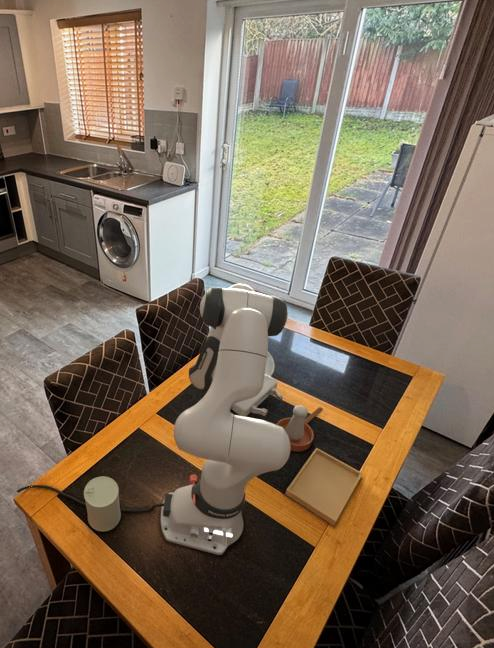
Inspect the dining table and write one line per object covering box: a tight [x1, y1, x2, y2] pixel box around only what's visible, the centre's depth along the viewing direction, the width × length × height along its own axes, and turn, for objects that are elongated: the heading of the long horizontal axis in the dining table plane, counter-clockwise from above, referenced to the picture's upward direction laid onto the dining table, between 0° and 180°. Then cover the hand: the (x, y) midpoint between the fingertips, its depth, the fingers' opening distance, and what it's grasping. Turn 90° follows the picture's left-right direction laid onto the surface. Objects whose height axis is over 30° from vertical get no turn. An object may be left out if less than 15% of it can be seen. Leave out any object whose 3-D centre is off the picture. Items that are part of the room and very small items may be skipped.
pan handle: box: [304, 406, 324, 425], centre depth 138 cm, size 11×1×1 cm, turn 130°
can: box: [83, 475, 122, 532], centre depth 108 cm, size 9×9×12 cm
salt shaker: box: [285, 404, 309, 441], centre depth 130 cm, size 6×6×13 cm
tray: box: [284, 447, 364, 527], centre depth 118 cm, size 20×14×2 cm
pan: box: [275, 417, 315, 453], centre depth 133 cm, size 12×12×3 cm
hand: (274, 406), depth 133 cm, fingers open, 8 cm apart
